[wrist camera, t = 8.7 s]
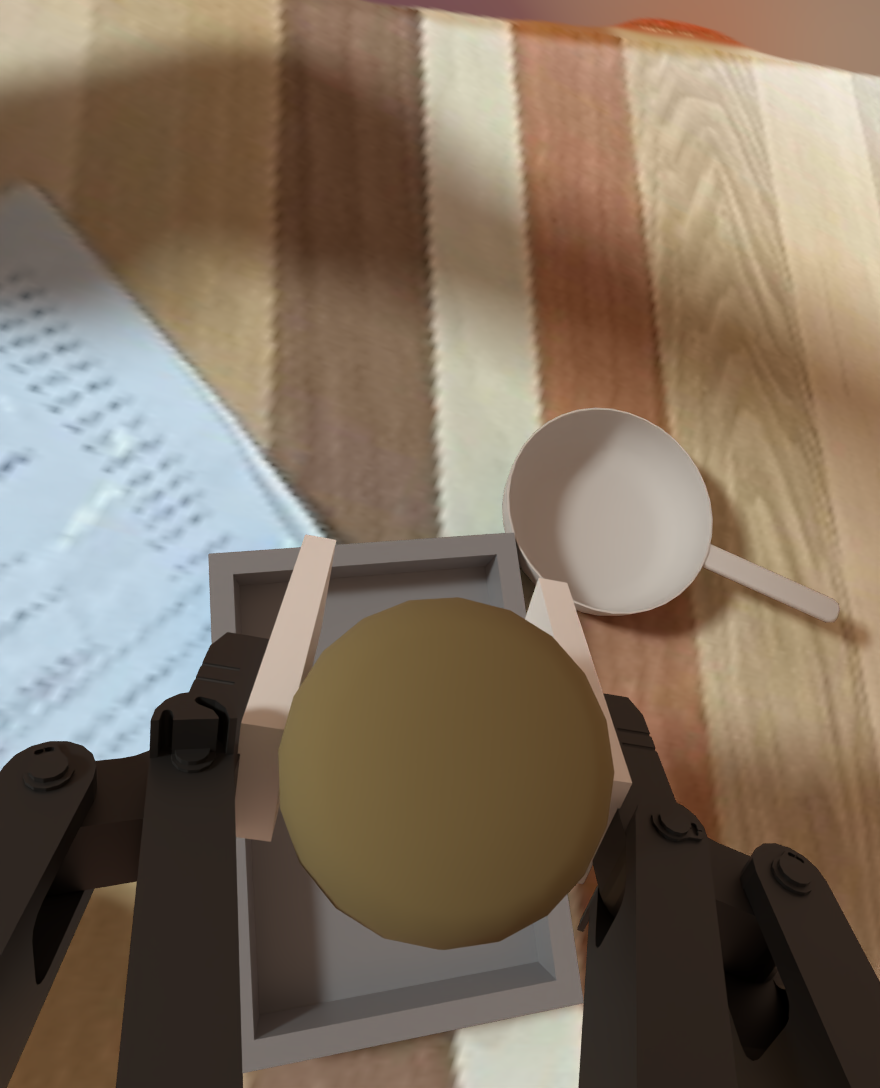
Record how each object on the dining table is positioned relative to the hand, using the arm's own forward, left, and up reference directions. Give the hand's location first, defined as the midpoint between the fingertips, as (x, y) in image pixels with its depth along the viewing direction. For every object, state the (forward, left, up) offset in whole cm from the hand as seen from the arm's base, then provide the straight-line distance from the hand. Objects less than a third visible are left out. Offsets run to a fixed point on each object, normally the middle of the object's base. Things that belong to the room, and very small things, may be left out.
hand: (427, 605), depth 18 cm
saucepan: (-5, +15, -18) cm, 24 cm away
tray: (+5, 0, -17) cm, 18 cm away
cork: (+4, -1, -3) cm, 5 cm away
